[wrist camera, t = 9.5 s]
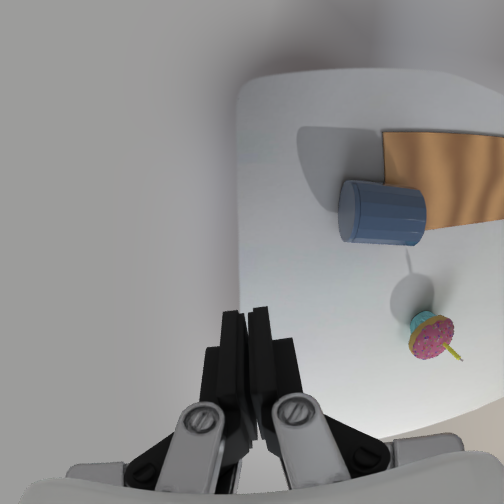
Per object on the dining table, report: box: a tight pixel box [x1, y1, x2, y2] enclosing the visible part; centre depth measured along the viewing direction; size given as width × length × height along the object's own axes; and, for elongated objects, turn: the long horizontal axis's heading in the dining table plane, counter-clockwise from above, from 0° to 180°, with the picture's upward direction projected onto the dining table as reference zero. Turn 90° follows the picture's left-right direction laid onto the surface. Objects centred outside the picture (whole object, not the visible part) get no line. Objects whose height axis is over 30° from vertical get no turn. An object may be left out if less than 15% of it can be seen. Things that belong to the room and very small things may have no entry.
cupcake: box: [409, 311, 463, 361], centre depth 41 cm, size 9×8×12 cm
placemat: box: [382, 132, 504, 230], centre depth 35 cm, size 40×14×1 cm, turn 98°
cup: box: [338, 180, 427, 246], centre depth 34 cm, size 7×7×9 cm
